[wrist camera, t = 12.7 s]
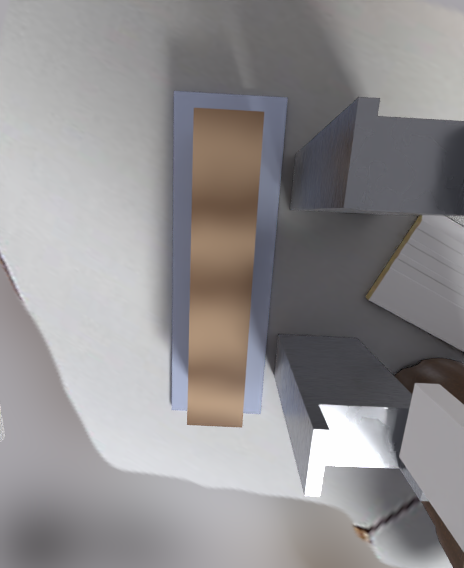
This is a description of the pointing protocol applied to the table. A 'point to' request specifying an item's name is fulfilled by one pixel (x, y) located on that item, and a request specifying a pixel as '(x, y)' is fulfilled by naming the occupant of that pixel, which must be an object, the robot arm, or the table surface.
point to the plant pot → (460, 384)
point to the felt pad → (263, 241)
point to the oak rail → (222, 261)
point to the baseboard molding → (427, 279)
